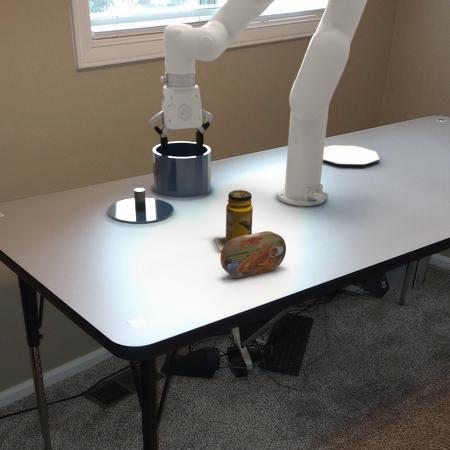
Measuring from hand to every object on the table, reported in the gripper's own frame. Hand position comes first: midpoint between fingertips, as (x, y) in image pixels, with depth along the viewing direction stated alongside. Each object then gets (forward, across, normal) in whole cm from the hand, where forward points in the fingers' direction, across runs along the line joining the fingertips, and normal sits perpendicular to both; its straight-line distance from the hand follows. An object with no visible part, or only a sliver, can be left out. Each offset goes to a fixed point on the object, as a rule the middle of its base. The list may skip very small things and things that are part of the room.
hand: (182, 149), depth 176 cm
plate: (+11, +59, +12) cm, 61 cm away
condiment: (+11, 0, -39) cm, 41 cm away
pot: (+11, 0, 0) cm, 11 cm away
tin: (+11, -2, -54) cm, 56 cm away
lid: (+10, -16, -14) cm, 23 cm away
